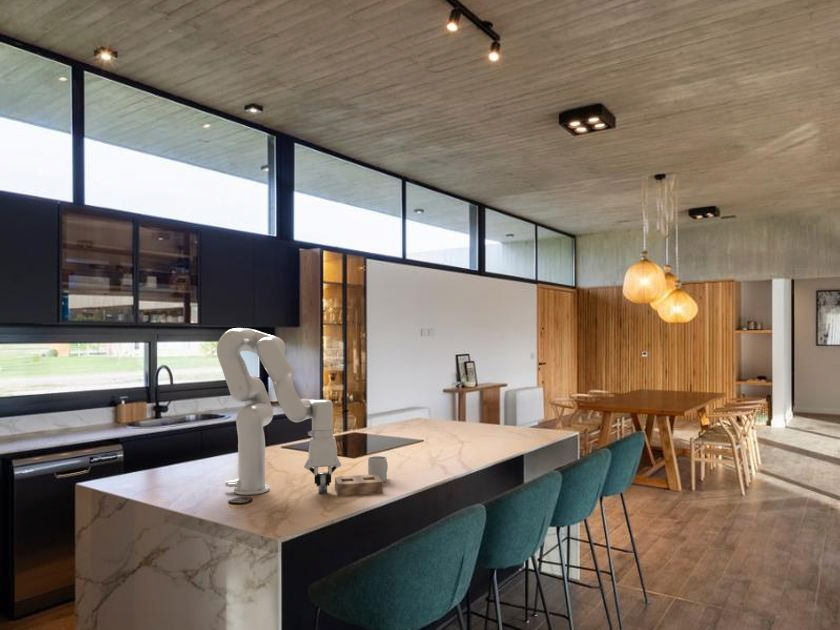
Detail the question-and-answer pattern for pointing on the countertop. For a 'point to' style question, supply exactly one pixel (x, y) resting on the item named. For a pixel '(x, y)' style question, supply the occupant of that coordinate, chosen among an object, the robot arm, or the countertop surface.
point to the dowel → (322, 483)
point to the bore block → (358, 485)
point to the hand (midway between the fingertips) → (322, 484)
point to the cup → (378, 467)
